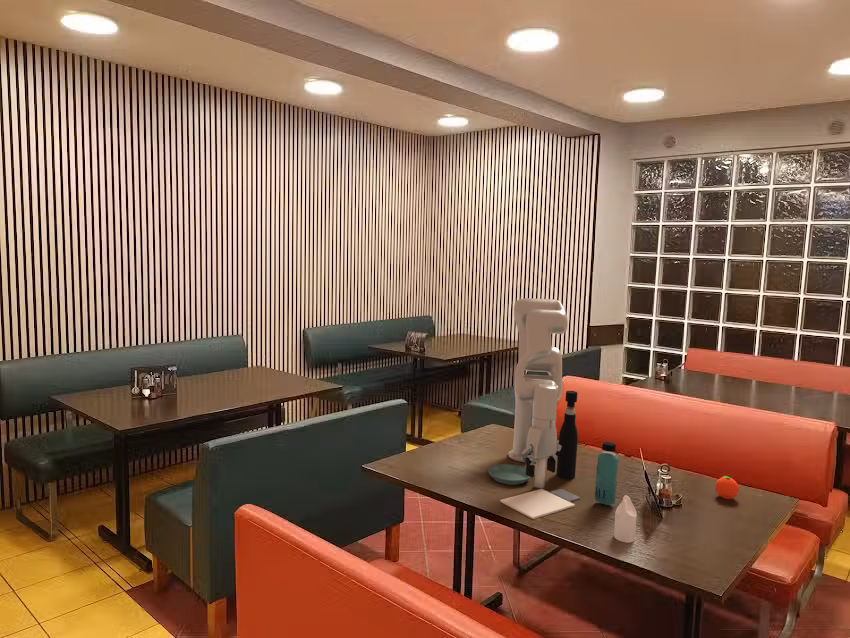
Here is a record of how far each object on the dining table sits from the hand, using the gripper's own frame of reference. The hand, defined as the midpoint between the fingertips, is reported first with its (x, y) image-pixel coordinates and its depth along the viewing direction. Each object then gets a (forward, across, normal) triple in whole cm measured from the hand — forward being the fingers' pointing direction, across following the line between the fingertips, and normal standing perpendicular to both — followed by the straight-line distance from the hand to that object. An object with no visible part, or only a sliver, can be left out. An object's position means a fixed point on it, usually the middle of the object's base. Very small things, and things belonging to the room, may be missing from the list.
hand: (540, 473), depth 199 cm
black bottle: (+5, -16, -3) cm, 17 cm away
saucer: (+5, +3, -11) cm, 13 cm away
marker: (+5, 0, 0) cm, 5 cm away
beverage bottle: (+6, -8, +20) cm, 22 cm away
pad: (+5, +10, +9) cm, 14 cm away
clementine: (+5, -49, +36) cm, 61 cm away
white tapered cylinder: (+6, +5, +37) cm, 37 cm away
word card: (+5, -3, +9) cm, 10 cm away
